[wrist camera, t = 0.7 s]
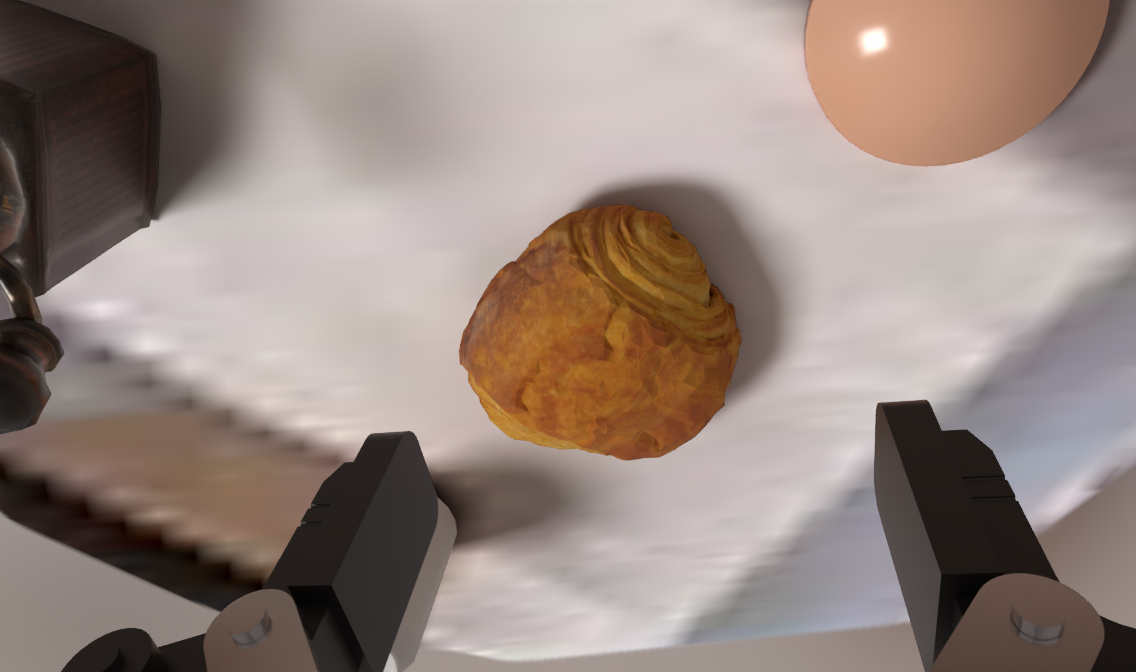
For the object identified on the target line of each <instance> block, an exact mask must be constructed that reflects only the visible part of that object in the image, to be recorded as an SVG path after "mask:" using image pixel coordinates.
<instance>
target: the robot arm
mask: <svg viewBox="0 0 1136 672" xmlns="http://www.w3.org/2000/svg"><path fill="white" fill-rule="evenodd" d="M874 485H875V494H876V501H877V507H878V511H879V515H880V518H881V522H882V525H883V529H884V532H885V535H886V539H887V542H888V546H889V549H890V553H891V556H892V560H893V563H894V566H895V570H896V573H897V577H898V580H899V584H900V587H901V590H902V594H903V597H904V601H905V604H906V608H907V611H908V615H909V618H910V621H911V625H912V628H913V632H914V635H915V639H916V642H917V645H918V649H919V652H920V655H921V659H922V662H923V666H924V670H925V672H1136V629H1135V628H1132V627H1128V626H1124V625H1121V624H1118V623H1116V622H1113V621H1111V620H1108V619H1106V618H1104V617H1102V616H1100V615H1099V614H1098V613H1097V611H1096V610H1095V609H1094V607H1093V606H1092V605H1091V604H1090V603H1089V602H1088V601H1087V600H1086V599H1085V598H1084V597H1083V596H1081V595H1080V594H1079V593H1078V592H1076V591H1074V590H1073V589H1071V588H1070V587H1068V586H1066V585H1064V584H1062V583H1060V582H1059V580H1058V578H1057V577H1056V575H1055V573H1054V571H1053V569H1052V567H1051V565H1050V563H1049V561H1048V560H1047V557H1046V555H1045V553H1044V551H1043V549H1042V547H1041V545H1040V544H1039V542H1038V540H1037V538H1036V536H1035V534H1034V532H1033V530H1032V528H1031V526H1030V524H1029V522H1028V520H1027V518H1026V516H1025V514H1024V512H1023V510H1022V508H1021V506H1020V504H1019V502H1018V501H1016V499H1015V494H1014V492H1013V490H1012V488H1011V486H1010V485H1009V483H1008V481H1007V480H1005V475H1004V473H1003V471H1002V469H1001V467H1000V465H999V463H998V461H997V459H996V457H995V455H994V453H993V451H992V450H991V449H990V448H989V447H987V446H986V445H985V444H984V443H983V442H981V441H980V440H979V439H978V438H977V437H975V436H974V435H973V434H972V433H970V432H969V431H968V430H967V429H966V430H948V431H942V430H941V428H940V426H939V423H938V421H937V419H936V416H935V414H934V412H933V410H932V407H931V405H930V403H929V402H928V401H927V400H916V401H900V402H884V403H878V404H877V408H876V425H875V458H874ZM437 520H438V499H437V494H436V491H435V488H434V485H433V482H432V479H431V477H430V474H429V471H428V468H427V465H426V462H425V459H424V456H423V454H422V451H421V448H420V445H419V442H418V440H417V437H416V436H415V434H414V433H413V432H411V431H404V432H388V433H373V434H370V435H369V436H368V437H367V438H366V440H365V442H364V444H363V446H362V447H361V449H360V451H359V453H358V455H357V457H356V459H355V460H354V462H346V463H343V464H342V465H341V466H340V467H339V468H338V469H337V470H336V471H335V472H334V473H333V474H332V475H331V476H330V477H328V478H327V479H326V480H325V481H324V482H323V484H322V485H321V487H320V489H319V491H318V492H317V494H316V496H315V498H314V499H313V501H312V503H311V509H308V510H307V512H306V513H305V515H304V517H303V519H302V520H301V526H300V527H297V529H296V531H295V533H294V534H293V536H292V538H291V540H290V542H289V543H288V545H287V547H286V549H285V550H284V552H283V554H282V556H281V557H280V559H279V561H278V563H277V564H276V566H275V568H274V570H273V571H272V573H271V575H270V577H269V578H268V580H267V582H266V584H265V585H264V587H263V589H262V590H260V591H256V592H253V593H250V594H248V595H245V596H243V597H241V598H239V599H238V600H236V601H234V602H233V603H231V604H230V605H229V606H227V607H226V608H225V609H224V610H223V611H222V612H221V613H220V614H219V615H218V616H217V617H216V618H215V619H214V621H213V622H212V623H211V625H210V627H209V628H208V630H207V632H206V633H205V634H202V635H198V636H195V637H192V638H188V639H185V640H182V641H178V642H175V643H171V644H168V645H164V646H161V647H157V646H156V644H155V643H154V641H153V640H152V638H151V637H150V636H149V635H148V633H146V632H145V631H143V630H141V629H137V628H126V629H120V630H117V631H113V632H111V633H108V634H106V635H104V636H102V637H100V638H98V639H96V640H94V641H93V642H91V643H90V644H88V645H87V646H86V647H84V648H83V649H82V650H80V651H79V652H78V653H77V654H76V655H75V656H74V657H73V658H72V659H71V660H70V661H69V662H68V663H67V664H66V666H65V667H64V668H63V670H62V671H61V672H383V671H384V668H385V666H386V663H387V660H388V657H389V655H390V652H391V649H392V646H393V644H394V641H395V638H396V636H397V633H398V630H399V627H400V625H401V622H402V619H403V616H404V614H405V611H406V608H407V605H408V603H409V600H410V597H411V595H412V592H413V589H414V586H415V584H416V581H417V578H418V575H419V573H420V570H421V567H422V564H423V562H424V559H425V556H426V554H427V551H428V548H429V545H430V543H431V540H432V537H433V534H434V532H435V529H436V526H437Z"/></svg>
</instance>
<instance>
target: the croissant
mask: <svg viewBox="0 0 1136 672" xmlns="http://www.w3.org/2000/svg"><path fill="white" fill-rule="evenodd" d="M741 341H742V340H741V335H740V330H739V329H738V328H737V325H736V319H735V308H734V306H733V305H732V304H728V303H727V302H725V300H724V296H723V295H722V293H721V292H720V290H719V289H718V288H717V287H715V286H714V285H712V284H711V283H710V280H709V278H708V275H707V272H706V269H705V263H703V262H702V260H701V258H700V257H698V254H697V251H696V247H695V246H694V245H692V244H690V243H689V241H688V240H687V238H686V237H685V236H684V235H682V234H680V233H678V232H676V231H674V230H672V225H671V221H670V220H669V219H668V217H667V216H665V215H663V214H660V213H657V212H651V211H644V210H638V209H637V208H635V207H633V206H631V205H616V206H610V205H608V206H601V207H596V208H592V209H582V210H579V211H576V212H572V213H569V214H567V215H566V216H564V217H562V218H561V219H559V220H557V221H556V222H554V223H553V224H551V225H550V226H549V227H548V228H547V229H546V230H545V231H544V232H543V233H542V234H541V235H540V236H538V237H536V238H535V239H533V240H532V241H531V242H530V243H529V246H528V248H527V249H526V250H525V251H524V252H523V253H522V254H521V256H520V257H519V258H518V259H517V260H516V261H515V262H514V261H512V262H510V263H508V264H507V265H505V266H504V267H503V268H502V269H501V270H500V271H499V272H498V273H497V274H496V276H495V277H494V278H493V279H492V280H491V282H490V283H489V285H488V287H487V288H486V290H485V292H484V293H483V295H482V297H481V299H480V300H479V302H478V304H477V307H476V309H475V311H474V313H473V315H472V317H471V318H470V320H469V323H468V325H467V327H466V328H465V330H464V332H463V335H462V339H461V344H460V350H459V356H460V364H461V365H463V367H464V368H465V369H466V370H467V371H468V381H469V383H470V385H471V387H472V389H473V391H474V392H475V393H476V394H477V395H478V396H479V399H480V403H481V405H482V406H483V408H484V410H485V411H486V412H487V414H488V417H489V419H490V420H491V421H492V422H493V423H494V424H495V425H496V426H497V427H498V428H499V429H500V430H502V431H503V432H504V433H505V434H506V435H508V436H509V437H511V438H513V439H515V440H524V441H530V442H533V443H535V444H537V445H539V446H546V447H553V448H557V449H577V448H578V449H581V450H585V451H587V452H590V453H599V454H603V455H607V456H608V455H612V456H614V457H616V458H618V459H622V460H635V459H641V458H656V457H661V456H663V455H665V454H667V453H669V452H671V451H673V450H675V449H676V448H678V447H679V446H681V445H682V444H684V443H686V442H688V441H689V440H691V439H693V438H694V437H695V436H696V435H697V434H698V433H699V432H700V431H701V430H702V429H703V428H704V427H705V426H706V425H707V424H708V422H709V421H710V420H711V418H712V417H713V416H714V414H715V413H716V412H717V411H718V410H720V409H721V408H722V407H723V406H724V405H725V404H724V399H725V390H726V389H727V388H728V386H729V385H730V383H731V378H732V374H733V371H734V368H735V364H736V361H737V357H738V350H739V347H740V344H741Z"/></svg>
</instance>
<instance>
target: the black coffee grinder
mask: <svg viewBox="0 0 1136 672" xmlns="http://www.w3.org/2000/svg"><path fill="white" fill-rule="evenodd" d="M160 115H161V104H160V95H159V85H158V75H157V66H156V56H155V54H154V53H152V52H150V51H148V50H146V49H144V48H143V47H141V46H139V45H137V44H135V43H133V42H132V41H130V40H128V39H126V38H123V37H121V36H118V35H115V34H113V33H110V32H108V31H105V30H102V29H100V28H97V27H94V26H92V25H89V24H86V23H83V22H81V21H78V20H75V19H72V18H69V17H66V16H64V15H61V14H58V13H55V12H52V11H50V10H47V9H44V8H41V7H38V6H35V5H31V4H28V3H25V2H22V1H19V0H0V289H1V290H2V292H3V293H4V295H5V296H6V299H7V302H8V305H9V308H10V311H11V314H12V317H13V318H10V319H5V320H0V434H4V433H8V432H13V431H18V430H23V429H25V428H27V427H30V426H32V425H35V424H36V422H37V420H38V418H39V416H40V414H41V412H42V410H43V409H44V407H45V405H46V403H47V401H48V399H49V398H50V396H51V392H50V390H49V388H48V386H47V384H46V380H45V373H46V372H49V371H52V370H53V369H54V368H55V367H56V366H57V364H58V362H59V361H60V359H61V358H62V356H63V354H64V351H63V348H62V346H61V343H60V341H59V338H58V337H57V336H56V335H55V334H54V332H53V331H52V330H51V329H50V328H48V327H46V326H44V325H42V317H41V314H40V311H39V308H38V305H37V302H36V300H35V297H38V296H41V295H43V294H45V293H46V292H47V291H48V290H50V289H51V288H52V287H54V286H55V285H57V284H58V283H60V282H61V281H63V280H64V279H66V278H67V277H69V276H70V275H72V274H73V273H75V272H76V271H78V270H79V269H81V268H82V267H84V266H85V265H87V264H88V263H90V262H91V261H93V260H94V259H96V258H97V257H98V256H100V255H101V254H103V253H104V252H106V251H107V250H109V249H110V248H112V247H113V246H115V245H116V244H118V243H119V242H121V241H122V240H124V239H125V238H127V237H128V236H130V235H131V234H133V233H135V232H136V231H138V230H139V229H142V228H146V227H149V226H150V222H151V216H152V211H153V206H154V201H155V196H156V190H157V182H158V161H159V139H160Z"/></svg>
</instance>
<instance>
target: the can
mask: <svg viewBox="0 0 1136 672" xmlns="http://www.w3.org/2000/svg"><path fill="white" fill-rule="evenodd" d="M437 499H438V520H437V526H436V529H435V532H434V534H433V537H432V540H431V543H430V545H429V548H428V551H427V554H426V556H425V559H424V562H423V564H422V567H421V570H420V573H419V575H418V578H417V581H416V584H415V586H414V589H413V592H412V595H411V597H410V600H409V603H408V605H407V608H406V611H405V614H404V616H403V619H402V622H401V625H400V627H399V630H398V633H397V636H396V638H395V641H394V644H393V646H392V649H391V652H390V655H389V657H388V660H387V663H386V666H385V668H384V671H383V672H403V671H405V670H406V669H407V668H408V667H409V666H410V665H411V664H412V663H413V662H414V660H415V657H416V654H417V651H418V648H419V645H420V642H421V639H422V636H423V633H424V630H425V628H426V625H427V622H428V619H429V616H430V613H431V610H432V607H433V604H434V601H435V598H436V595H437V592H438V589H439V586H440V583H441V580H442V577H443V574H444V571H445V568H446V565H447V562H448V559H449V556H450V553H451V550H452V548H453V545H454V541H455V538H456V535H457V528H456V521H455V518H454V517H453V515H452V513H451V511H450V510H449V508H448V507H447V506H446V505H445V504H444V503H443V502H442V501H441V500H440V499H439V498H438V497H437Z"/></svg>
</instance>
